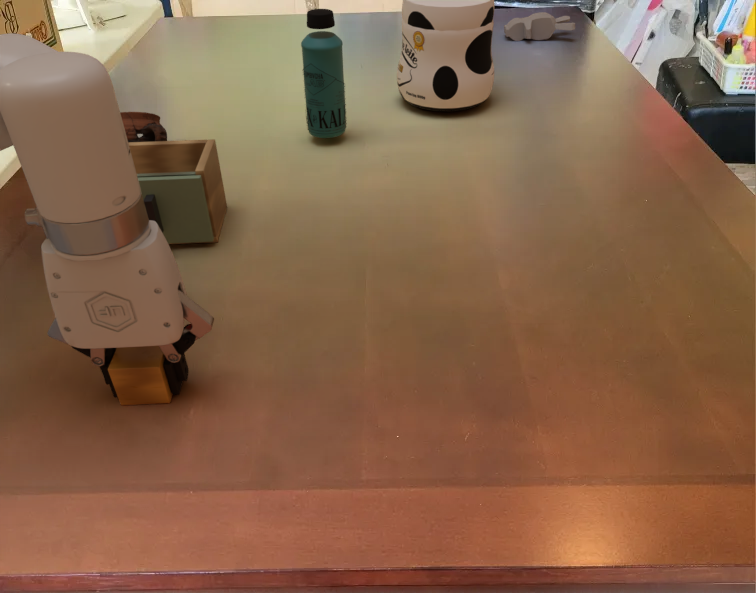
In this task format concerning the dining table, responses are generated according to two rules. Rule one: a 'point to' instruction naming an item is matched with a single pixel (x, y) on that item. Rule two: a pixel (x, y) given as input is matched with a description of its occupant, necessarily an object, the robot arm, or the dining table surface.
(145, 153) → the cupboard
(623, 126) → the dining table surface
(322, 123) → the beverage bottle
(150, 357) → the block
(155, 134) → the pottery mug
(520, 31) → the bunny figurine
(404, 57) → the milk container
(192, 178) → the closet door
